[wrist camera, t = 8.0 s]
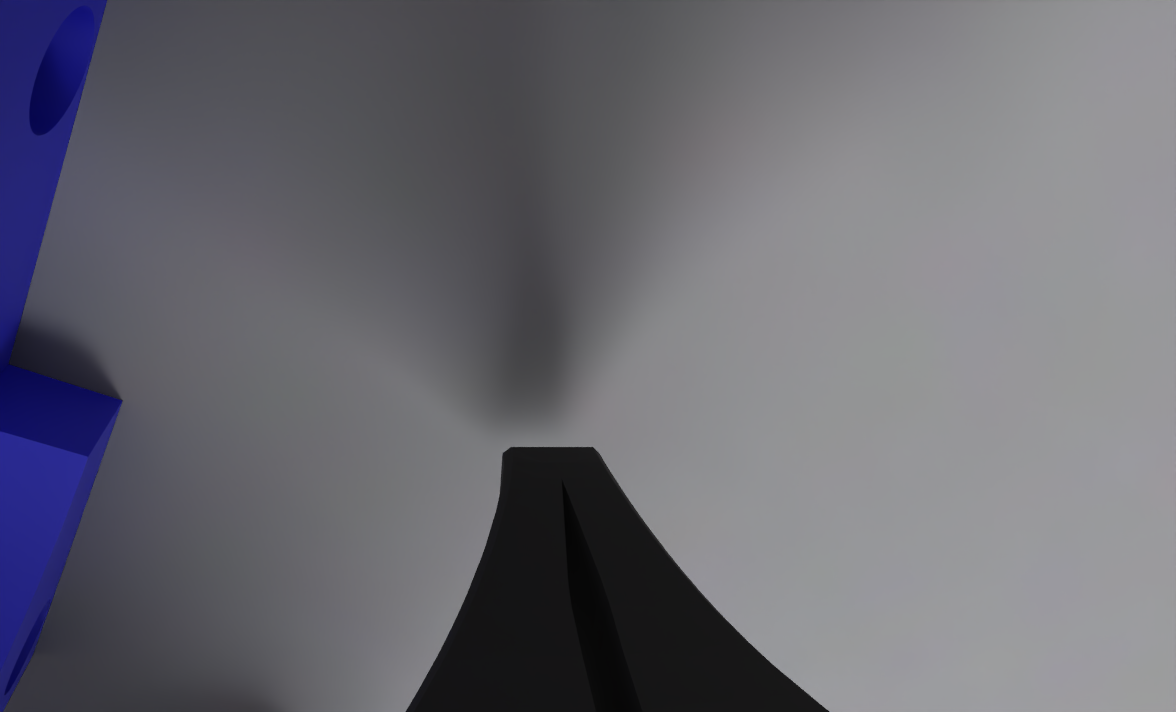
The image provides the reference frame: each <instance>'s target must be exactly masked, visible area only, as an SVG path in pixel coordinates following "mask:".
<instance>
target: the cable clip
mask: <svg viewBox="0 0 1176 712" xmlns="http://www.w3.org/2000/svg"><path fill="white" fill-rule="evenodd" d="M106 3H107V0H0V712H3V711H4V709H5V707H6V705H7V703H8V701H9V699H10V697H11V695H12V694H13V692H14V690H15V688H16V686H17V684H18V682H19V680H20V678H21V677H22V675H23V673H24V671H25V669H26V667H27V665H28V663H29V661H30V659H31V658H32V656H33V653H34V650H35V648H36V645H37V642H38V639H39V636H40V633H41V631H42V628H43V625H44V622H45V619H46V616H47V614H48V611H49V608H50V605H51V602H52V599H53V597H54V594H55V591H56V588H57V585H58V582H59V580H60V577H61V574H62V571H63V568H64V565H65V563H66V560H67V557H68V554H69V551H70V548H71V546H72V543H73V540H74V537H75V534H76V531H77V529H78V526H79V523H80V520H81V517H82V514H83V512H84V509H85V506H86V503H87V500H88V497H89V495H90V492H91V489H92V486H93V483H94V480H95V478H96V475H97V472H98V469H99V466H100V463H101V460H102V458H103V455H104V452H105V449H106V446H107V443H108V441H109V438H110V435H111V432H112V429H113V426H114V424H115V421H116V418H117V415H118V412H119V409H120V407H121V404H122V400H119V399H116V398H113V397H110V396H107V395H103V394H100V393H97V392H94V391H91V390H88V389H85V388H82V387H78V386H75V385H72V384H69V383H66V382H63V381H60V380H57V379H53V378H50V377H47V376H44V375H41V374H38V373H35V372H31V371H28V370H25V369H22V368H19V367H16V366H13V365H10V364H9V361H10V357H11V353H12V350H13V346H14V342H15V339H16V335H17V331H18V327H19V324H20V320H21V316H22V313H23V309H24V305H25V302H26V298H27V294H28V291H29V287H30V283H31V279H32V276H33V272H34V268H35V265H36V261H37V257H38V254H39V250H40V246H41V243H42V239H43V235H44V231H45V228H46V224H47V220H48V217H49V213H50V209H51V206H52V202H53V198H54V195H55V191H56V187H57V183H58V180H59V176H60V172H61V169H62V165H63V161H64V158H65V154H66V150H67V147H68V143H69V139H70V135H71V132H72V128H73V124H74V121H75V117H76V113H77V110H78V106H79V102H80V99H81V95H82V91H83V87H84V84H85V80H86V76H87V73H88V69H89V65H90V62H91V58H92V54H93V51H94V47H95V43H96V39H97V36H98V32H99V28H100V25H101V21H102V17H103V14H104V10H105V6H106Z"/></svg>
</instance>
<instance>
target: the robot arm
mask: <svg viewBox="0 0 1176 712" xmlns="http://www.w3.org/2000/svg"><path fill="white" fill-rule="evenodd" d="M406 712H829V711H828V710H827V709H825V708H824V707H823V706H822V705H820V704H819V703H818V702H817V701H816V700H814V699H813V698H812V697H811V696H810V695H808V694H807V693H806V692H805V691H804V690H802V689H801V688H800V687H799V686H798V685H796V684H795V683H794V682H793V681H792V680H790V679H789V678H788V677H787V676H786V675H784V674H783V673H782V672H781V671H780V670H778V669H777V668H776V667H775V666H774V665H773V664H771V663H770V662H769V661H768V660H767V659H766V658H765V657H764V656H763V655H762V654H761V653H760V652H758V651H757V650H756V649H755V648H754V647H753V646H752V645H751V644H750V643H749V642H748V641H747V640H746V639H745V638H744V637H743V636H742V635H741V634H740V633H739V632H738V631H737V630H736V629H735V628H734V627H733V626H732V625H731V624H730V623H729V622H728V621H727V620H726V619H725V618H724V617H723V616H722V615H721V614H720V613H719V612H718V611H717V610H716V609H715V608H714V606H713V605H712V604H711V603H710V602H709V601H708V600H707V599H706V598H705V597H704V595H703V594H702V593H701V592H700V591H699V590H698V589H697V587H696V586H695V585H694V584H693V583H692V582H691V580H690V579H689V578H688V577H687V576H686V575H685V573H684V572H683V571H682V570H681V569H680V567H679V566H678V565H677V564H676V563H675V561H674V560H673V559H672V558H671V556H670V555H669V554H668V553H667V551H666V550H665V549H664V547H663V546H662V545H661V543H660V542H659V541H658V539H657V538H656V537H655V535H654V534H653V533H652V532H651V530H650V529H649V528H648V526H647V525H646V524H645V522H644V521H643V519H642V518H641V517H640V515H639V514H638V512H637V511H636V510H635V508H634V507H633V505H632V504H631V502H630V501H629V499H628V498H627V497H626V495H625V494H624V492H623V491H622V489H621V488H620V486H619V485H618V483H617V481H616V480H615V478H614V477H613V475H612V474H611V472H610V470H609V469H608V467H607V466H606V464H605V462H604V461H603V459H602V457H601V456H600V454H599V453H598V452H597V451H596V450H595V449H594V448H593V447H511V448H509V449H508V450H507V451H505V452H504V453H503V456H502V471H501V487H500V496H499V501H498V505H497V510H496V514H495V517H494V520H493V523H492V527H491V530H490V533H489V537H488V540H487V543H486V546H485V549H484V552H483V555H482V558H481V560H480V563H479V565H478V568H477V570H476V573H475V575H474V578H473V580H472V583H471V586H470V588H469V591H468V593H467V596H466V598H465V600H464V602H463V605H462V607H461V609H460V611H459V614H458V616H457V618H456V620H455V622H454V624H453V626H452V628H451V630H450V632H449V634H448V636H447V638H446V640H445V642H444V644H443V646H442V648H441V650H440V652H439V654H438V656H437V658H436V660H435V661H434V663H433V665H432V667H431V669H430V670H429V672H428V674H427V676H426V678H425V679H424V681H423V683H422V685H421V687H420V688H419V690H418V692H417V694H416V695H415V697H414V699H413V700H412V702H411V704H410V705H409V707H408V709H407V710H406Z"/></svg>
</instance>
